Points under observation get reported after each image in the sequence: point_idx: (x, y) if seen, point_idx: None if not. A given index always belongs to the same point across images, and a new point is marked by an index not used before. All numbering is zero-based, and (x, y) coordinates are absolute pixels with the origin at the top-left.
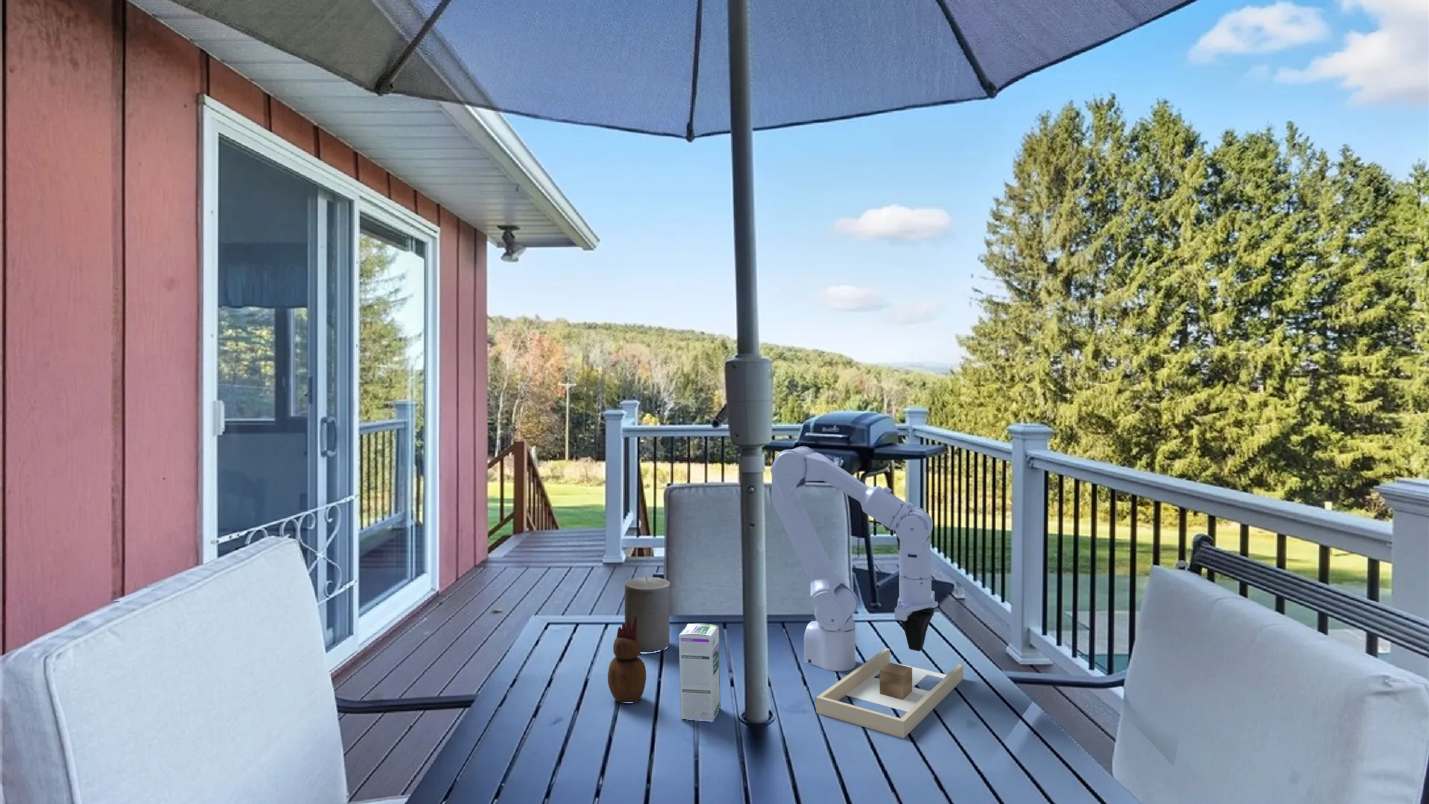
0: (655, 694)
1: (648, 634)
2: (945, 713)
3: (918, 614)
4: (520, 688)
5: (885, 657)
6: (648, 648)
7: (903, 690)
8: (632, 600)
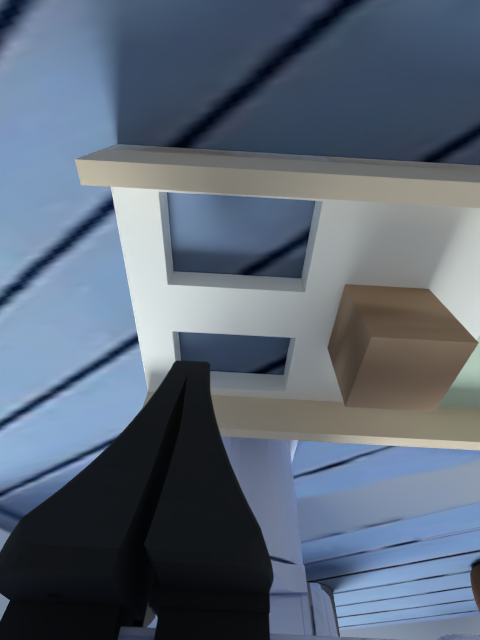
0: (461, 555)
1: None
2: (414, 132)
3: (202, 597)
4: (475, 607)
5: None
6: (329, 596)
7: (435, 304)
8: None
